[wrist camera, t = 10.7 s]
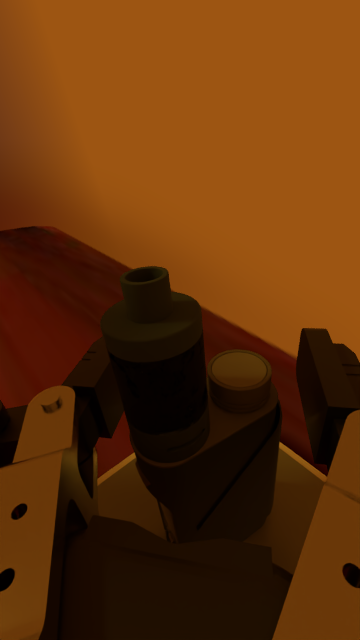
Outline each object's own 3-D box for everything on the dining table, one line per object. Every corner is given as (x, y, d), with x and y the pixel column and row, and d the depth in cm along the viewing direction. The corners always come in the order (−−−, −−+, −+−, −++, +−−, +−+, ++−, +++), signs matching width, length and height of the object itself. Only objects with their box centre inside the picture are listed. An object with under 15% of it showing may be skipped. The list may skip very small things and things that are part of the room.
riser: (218, 885, 8) (214, 914, 6) (78, 546, 16) (53, 506, 14) (379, 573, 14) (406, 531, 12) (217, 432, 22) (215, 391, 19)
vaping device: (151, 529, 13) (73, 273, 7) (245, 468, 15) (248, 228, 9) (179, 596, 11) (103, 315, 5) (283, 515, 13) (322, 244, 7)
